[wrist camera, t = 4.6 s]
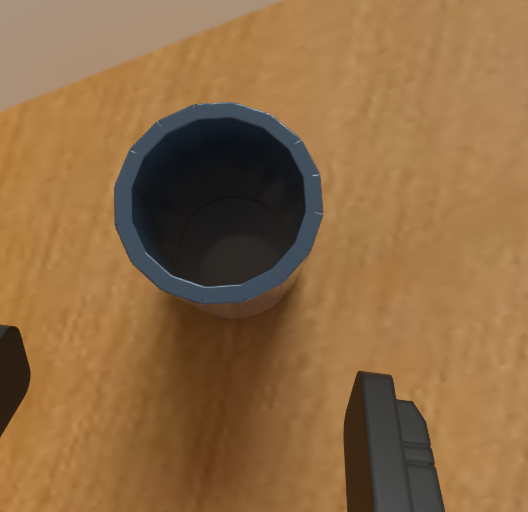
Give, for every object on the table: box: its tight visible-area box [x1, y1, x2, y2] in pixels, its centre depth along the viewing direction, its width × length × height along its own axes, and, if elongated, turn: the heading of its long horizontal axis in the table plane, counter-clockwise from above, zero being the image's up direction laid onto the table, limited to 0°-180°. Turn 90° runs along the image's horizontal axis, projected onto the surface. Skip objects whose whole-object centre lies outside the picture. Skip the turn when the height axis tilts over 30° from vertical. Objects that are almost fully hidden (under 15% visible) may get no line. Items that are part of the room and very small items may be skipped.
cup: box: [114, 102, 323, 318], centre depth 18 cm, size 6×6×8 cm
